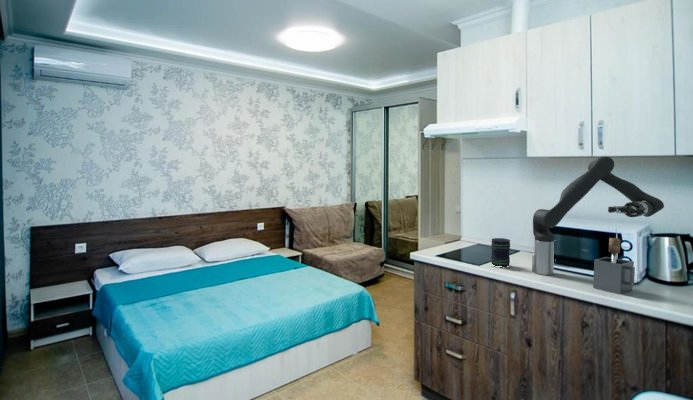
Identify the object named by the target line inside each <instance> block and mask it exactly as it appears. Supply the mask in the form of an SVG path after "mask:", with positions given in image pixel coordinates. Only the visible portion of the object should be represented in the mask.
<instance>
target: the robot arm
mask: <svg viewBox="0 0 693 400" xmlns="http://www.w3.org/2000/svg"><path fill="white" fill-rule="evenodd" d="M614 168H615V161H614V159H613V158H611V157H610V156H600V157H598V158H596V159H594V160H593V161H591V162H589V163H588V166H587V171H586V172H584V173H583V174H581V175H580V176H578V177H577V178H576V179H574V180H572V182H570V183H569V184H568V185H567V186H566V187H565V188H563V190H562V191H561V193H560V196H559V197H560V198H559V201H558V202H557V203H556V204H555V205H554V206H553V207H552V208H550V209H544V208H541V209H539V208H538V209H537V210H536V211H535V212H534V213H533V216H532V233H533V236H534V246H533V247H534V249H533V251H534V253H532V260H531V261H532V262H531V266H532V267H531V268H532V269H531V272H532V273H534V272H535V274H537V275H543V276H549V275H550V276H552V275H554V271H555V269H554V268H555V264H554V241H556V240H555V239H556V238H555V235H554V234H553V233H552V232H551V230H550V229H553V228H556V226H557V225H558V224H559V223H560V222H561V221H562V219H563V218H564V217H565V216H566V214H568V213H569V212H570V211H571V210H572V209H573V207H575V205H577V204H578V203H579V202H580V201H581V200H582V199H583V198H584V197H585V196H586V195H588V193H589V192H590V191H591V190H592V189H593V188H594V187H595V186H596V185H597V183H598V182H599V181H601V182H602V183H605V184H607V185H608V186H610V187H611V188H613V189H615V190H616V191H618V192H619V193H620V194H622V195H623V196H624V197H626V198H627V199H628V200H629V202H626V203H625V204H624V205H619V206H618V205H617V206H616V205H614V206H608V208H607V211H608V213H616V214H623V215H624V216H626V217H628V218H636V217H637V218H638V217H642V216H644V217H646V218H648V217H651V216H653V215H655V214H656V213H659V212H660V211H662V210H663V209H664V208H665V204H664V202H663V200H661V199H660V198H657V197H656V196H653V195H650V194H649V193H646V192H645V191H643V190H642V189H641V188H639V187H638V186H637V185H636V184H634V183H633V182H631V181H629V180H626V179H622V178H620V177H619V176H616V175H615V174H613V173H612V171H613V170H614Z"/></svg>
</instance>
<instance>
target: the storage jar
mask: <svg viewBox="0 0 693 400" xmlns="http://www.w3.org/2000/svg"><path fill="white" fill-rule="evenodd" d="M490 246H491V256H490V264H491V263H492V264H493V265H495V266H502V267H507V266H509V267H510V264H511V263H510V259H511V258H510V250H511V239H509V238H504V237H503V238H500V237H499V238H498V237H495V238H491V245H490Z"/></svg>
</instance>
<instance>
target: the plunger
mask: <svg viewBox="0 0 693 400" xmlns="http://www.w3.org/2000/svg"><path fill="white" fill-rule="evenodd" d="M608 241H609V242H608V253H611V258H612V259H611V263H616V259H617V256H618V255H617V254H620V253H621V252H620V251H621V239H620V238H618V237H609V240H608Z"/></svg>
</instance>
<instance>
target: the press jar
mask: <svg viewBox="0 0 693 400" xmlns="http://www.w3.org/2000/svg"><path fill="white" fill-rule="evenodd" d="M611 259H612V257H611V256H610V257H609V256H605V257H602V258H597V259H594V260H593V261H594V262H593V264H594V265H593V281H592V282H593V285H592V288H593V289H596V290H600V291H604V292H609V293H613V294H616V295H623V294H626V293H628V292H631V291H633V287H634V286H635V278H636V277H635V274H636V273H635V271H636V267H634V266H635V265H634V263H635V262H634V261H632V260H626V259H621V258H616V263H611Z"/></svg>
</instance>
